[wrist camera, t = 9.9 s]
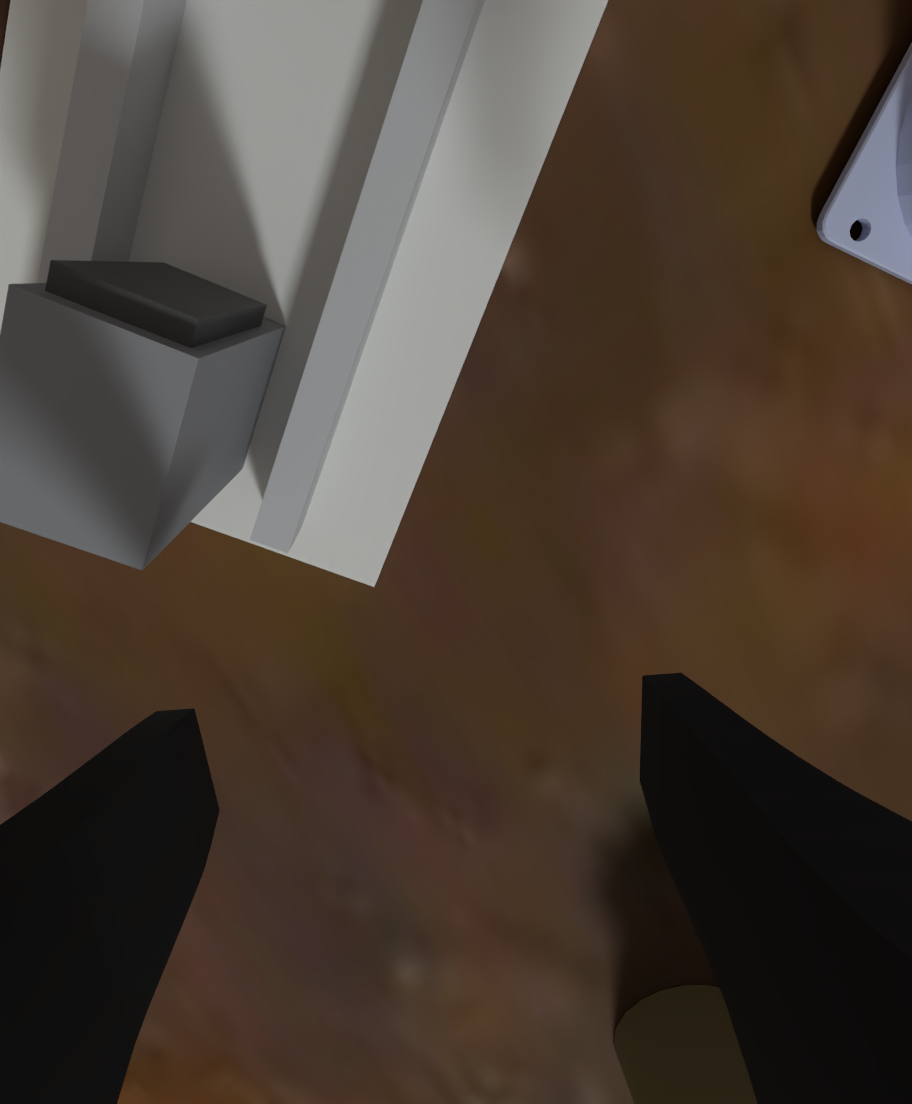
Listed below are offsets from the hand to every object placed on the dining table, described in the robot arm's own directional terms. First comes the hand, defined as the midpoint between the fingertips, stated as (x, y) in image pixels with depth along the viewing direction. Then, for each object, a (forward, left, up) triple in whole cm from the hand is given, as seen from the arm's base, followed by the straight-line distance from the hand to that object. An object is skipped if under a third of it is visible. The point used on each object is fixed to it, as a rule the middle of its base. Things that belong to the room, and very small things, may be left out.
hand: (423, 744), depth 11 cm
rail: (+7, -9, -10) cm, 15 cm away
